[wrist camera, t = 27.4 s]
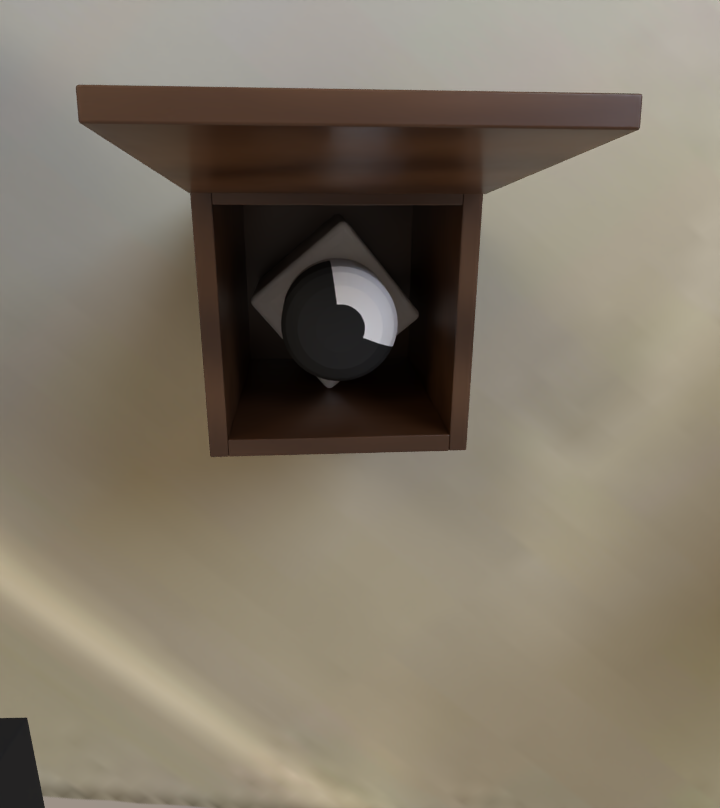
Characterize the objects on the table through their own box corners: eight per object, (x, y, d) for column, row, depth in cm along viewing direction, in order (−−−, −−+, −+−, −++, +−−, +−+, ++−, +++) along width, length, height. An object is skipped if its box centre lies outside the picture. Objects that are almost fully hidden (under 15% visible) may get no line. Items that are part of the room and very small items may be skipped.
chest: (417, 365, 48) (466, 450, 33) (239, 368, 47) (210, 457, 32) (424, 179, 43) (484, 184, 29) (228, 178, 42) (189, 182, 28)
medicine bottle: (325, 359, 46) (331, 421, 35) (256, 281, 44) (239, 320, 33) (405, 294, 45) (438, 336, 34) (338, 210, 43) (350, 225, 32)
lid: (641, 129, 15) (644, 93, 15) (78, 123, 14) (75, 83, 14) (486, 194, 29) (487, 175, 28) (187, 193, 28) (186, 173, 28)
